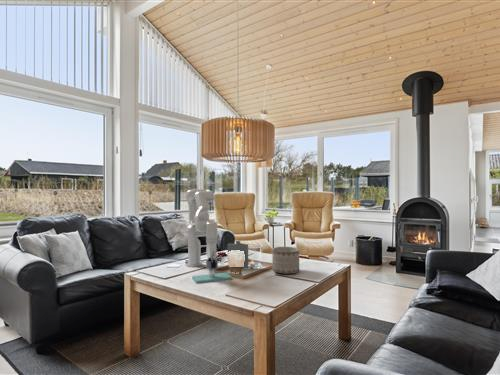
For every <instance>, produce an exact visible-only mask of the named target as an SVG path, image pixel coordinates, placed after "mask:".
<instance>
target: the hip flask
mask: <svg viewBox="0 0 500 375" xmlns="http://www.w3.org/2000/svg"><path fill="white" fill-rule="evenodd" d="M231 250H240V251H244V254H245V262H244V267H248V268H249V243H244V242H243V243H241V240H235V243H227V253H228V252H229V251H231ZM244 267H243V268H244Z"/></svg>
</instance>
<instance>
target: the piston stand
mask: <svg viewBox="0 0 500 375" xmlns="http://www.w3.org/2000/svg"><path fill="white" fill-rule="evenodd" d="M232 278H233V277H232V276H231V275H230V274H229V273H228V272H218V273H216V269H208V274H199V275H193V276H192V280H193V282H195V284H201V283H202V284H203V283H212V282H220V281H229V280H233V279H232Z"/></svg>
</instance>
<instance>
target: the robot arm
mask: <svg viewBox="0 0 500 375" xmlns="http://www.w3.org/2000/svg"><path fill="white" fill-rule="evenodd" d="M185 196H186V201H187V204H188V221H189V223H192V224H191V225H188V226H187V229H186V235H187V242H188V243H187V246H188V248H187V249H188V250H187V251H188V254H187V255H188V256H187V257H188V258H187V259H188V261H187V263H186V264H185V265H186V267H191V268H196V267H201V266H203V262H202V260H201V259H202V258H201V256H202V254H201V250H202V249H201V244H202V243H201V240H200V239H199V237H205V243H206V249H205V250H206V252H205V254H206V257H207V260H208V259H211V261H212V262H211V268H216V259H217V256H218V254H217V253H218V252H217V251H218V250H217V247H218V246H217V243H218V223H217V222H216V221H215V220H213V219H212V220H211V219H210V215H209V211H210V204H209V203H213V202H215V194H214V192H213V191H212V190H210V189H206V188H205V189H202V188H200V189H198V188H196V189H195V188H194V189H192V188H191V189H189V190H187V191H186V194H185ZM216 269H217V268H216Z"/></svg>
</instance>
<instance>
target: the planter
mask: <svg viewBox="0 0 500 375" xmlns="http://www.w3.org/2000/svg"><path fill="white" fill-rule="evenodd" d="M271 249H272V250H271V251H272V252H271V254H272V257H271V258H272V268H271V269H272V271H273V272H275V273H278V274H282V273H283V275H290V274H289V273H291V274H296V273H299V271H300V249H299V248H297V247H293V246H277V247H274V248H271Z"/></svg>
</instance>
